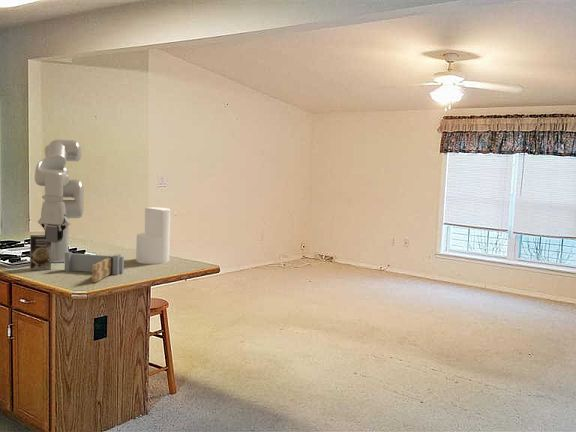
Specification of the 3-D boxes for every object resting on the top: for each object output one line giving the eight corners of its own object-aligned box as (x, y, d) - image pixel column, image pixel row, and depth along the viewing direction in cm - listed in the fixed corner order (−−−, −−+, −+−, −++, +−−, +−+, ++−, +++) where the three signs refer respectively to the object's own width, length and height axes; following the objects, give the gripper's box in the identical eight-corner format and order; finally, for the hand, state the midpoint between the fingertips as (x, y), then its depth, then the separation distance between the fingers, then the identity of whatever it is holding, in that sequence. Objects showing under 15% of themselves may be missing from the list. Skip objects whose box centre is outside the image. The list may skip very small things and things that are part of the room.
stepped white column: (157, 256, 309) (158, 206, 306) (175, 261, 297) (177, 209, 294) (130, 259, 297) (130, 207, 294) (147, 265, 285) (148, 211, 282)
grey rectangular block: (45, 242, 248) (45, 225, 247) (51, 240, 253) (51, 223, 252) (56, 242, 248) (56, 226, 247) (62, 240, 253) (62, 224, 252)
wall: (62, 271, 262) (62, 252, 261) (67, 269, 266) (67, 250, 265) (119, 275, 260) (120, 256, 259) (123, 273, 264) (123, 254, 263)
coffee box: (30, 270, 260) (30, 236, 258) (29, 268, 266) (29, 234, 264) (51, 269, 264) (51, 236, 262) (50, 267, 270) (50, 234, 268)
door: (109, 272, 262) (109, 256, 261) (113, 273, 262) (113, 256, 261) (91, 282, 242) (92, 264, 241) (95, 282, 241) (96, 264, 241)
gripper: (31, 198, 245) (31, 239, 248) (68, 201, 244) (68, 241, 246) (40, 197, 253) (40, 236, 255) (76, 199, 251) (76, 238, 254)
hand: (54, 238), depth 251 cm, fingers closed on grey rectangular block, 5 cm apart
